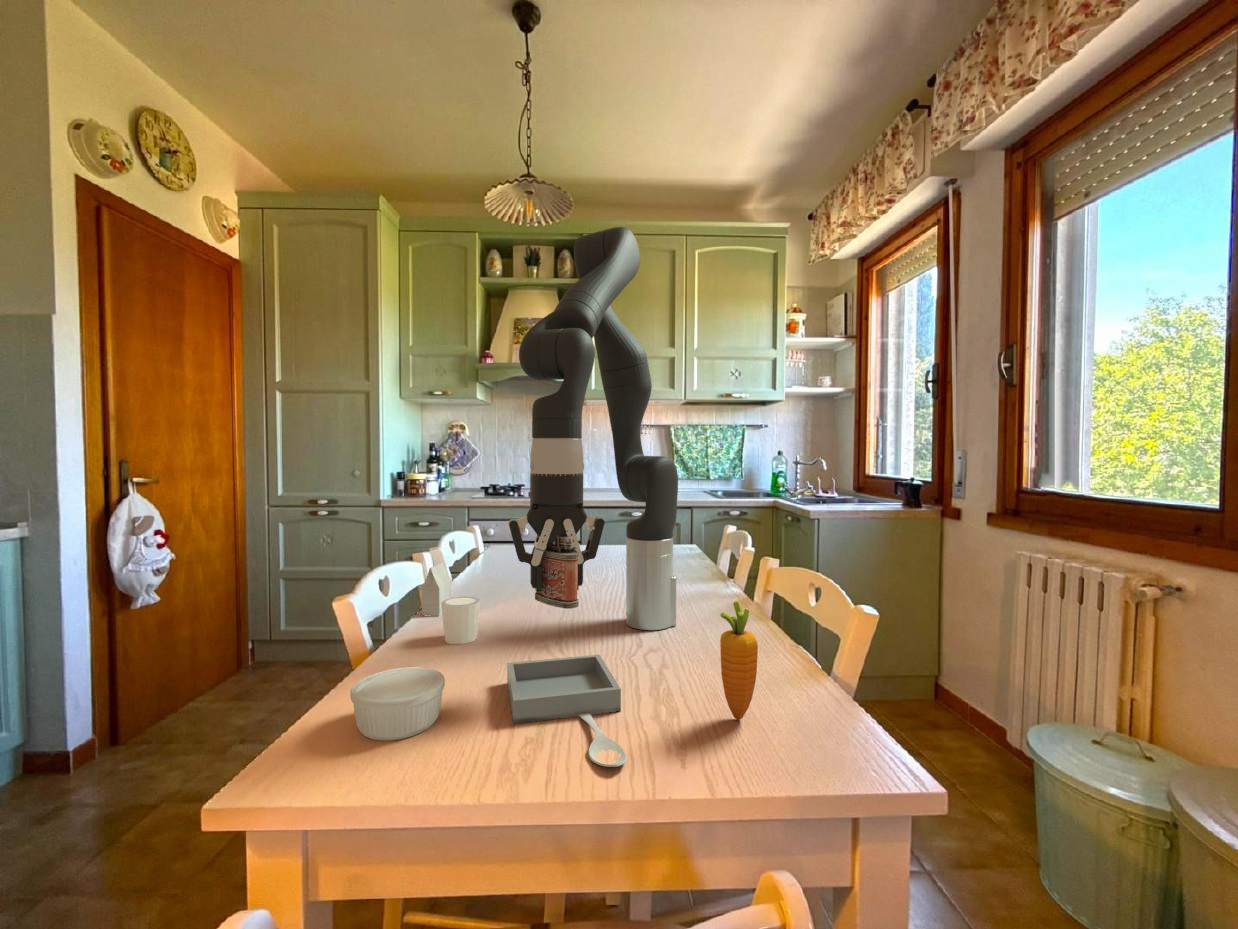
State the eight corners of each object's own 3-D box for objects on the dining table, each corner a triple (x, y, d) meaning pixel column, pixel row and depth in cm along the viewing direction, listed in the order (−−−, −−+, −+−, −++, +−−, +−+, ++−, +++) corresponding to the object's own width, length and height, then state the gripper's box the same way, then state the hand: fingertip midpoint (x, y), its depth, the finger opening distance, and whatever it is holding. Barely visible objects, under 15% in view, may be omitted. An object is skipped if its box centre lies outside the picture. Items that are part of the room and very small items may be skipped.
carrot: (750, 733, 70) (751, 611, 69) (712, 723, 72) (713, 605, 72) (763, 717, 74) (764, 602, 73) (726, 707, 76) (727, 597, 76)
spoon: (598, 782, 60) (598, 767, 60) (558, 700, 80) (558, 688, 80) (635, 775, 61) (635, 760, 61) (587, 696, 81) (587, 684, 81)
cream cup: (485, 633, 107) (485, 596, 107) (472, 646, 100) (472, 606, 100) (450, 632, 108) (450, 595, 108) (435, 644, 101) (434, 605, 101)
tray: (599, 673, 88) (599, 654, 88) (620, 711, 75) (620, 689, 75) (507, 683, 84) (507, 663, 84) (513, 724, 72) (513, 700, 72)
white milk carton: (451, 607, 125) (451, 562, 124) (439, 616, 118) (439, 568, 118) (435, 607, 125) (435, 561, 125) (422, 616, 118) (421, 568, 118)
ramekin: (376, 703, 78) (375, 665, 78) (456, 704, 78) (456, 666, 78) (332, 746, 67) (331, 701, 67) (426, 747, 66) (426, 703, 66)
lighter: (584, 605, 80) (585, 534, 80) (565, 610, 77) (566, 537, 77) (547, 595, 85) (548, 528, 85) (529, 599, 83) (530, 530, 83)
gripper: (600, 469, 86) (600, 581, 87) (504, 469, 83) (504, 586, 83) (611, 471, 79) (611, 593, 79) (506, 471, 76) (506, 599, 76)
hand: (556, 589), depth 81 cm, fingers closed on lighter, 4 cm apart
